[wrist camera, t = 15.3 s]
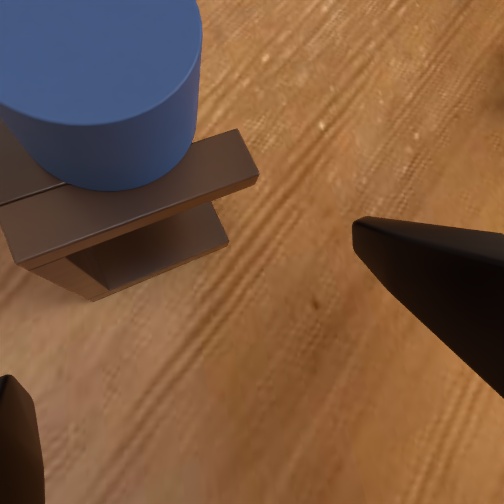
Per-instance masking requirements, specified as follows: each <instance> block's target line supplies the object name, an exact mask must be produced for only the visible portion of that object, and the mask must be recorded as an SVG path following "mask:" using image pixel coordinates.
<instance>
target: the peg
mask: <svg viewBox="0 0 504 504" xmlns="http://www.w3.org/2000/svg"><path fill="white" fill-rule="evenodd" d="M201 49H202V21H201V16H200V12H199V8H198V6H197V3H196V0H0V118H1V120H2V121H3V122H4V123H5V125H6V126H7V127H8V128H9V130H10V131H11V132H12V133H13V135H14V136H15V137H16V138H17V140H18V141H19V142H20V143H21V145H22V146H23V147H24V148H25V149H26V151H27V152H28V153H29V154H30V156H31V157H32V158H33V159H34V160H35V162H36V163H38V164H39V165H40V166H41V167H42V168H43V169H44V170H46V171H47V172H48V173H50V174H51V175H53V176H54V177H56V178H58V179H60V180H62V181H64V182H66V183H69V184H71V185H74V186H77V187H80V188H85V189H89V190H96V191H121V190H129V189H133V188H137V187H140V186H143V185H146V184H149V183H151V182H153V181H155V180H157V179H159V178H160V177H162V176H163V175H165V174H166V173H168V172H169V171H170V170H171V169H172V168H174V167H175V166H176V165H177V164H178V163H179V161H180V160H181V159H182V158H183V157H184V155H185V154H186V152H187V150H188V149H189V147H190V145H191V142H192V140H193V137H194V133H195V130H196V121H197V108H198V93H199V78H200V64H201Z"/></svg>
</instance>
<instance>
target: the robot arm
mask: <svg viewBox="0 0 504 504" xmlns="http://www.w3.org/2000/svg"><path fill="white" fill-rule="evenodd" d="M352 240H353V249H354V251H355V253H356V254H357V256H358V257H359V258H360V259H361V260H362V261H363V262H364V264H365V265H366V266H367V267H368V268H369V269H370V271H371V272H372V273H373V274H374V275H375V276H376V277H377V279H378V280H379V281H380V282H381V283H382V284H383V286H384V287H385V288H386V289H387V290H388V291H389V292H390V293H391V294H392V295H393V296H394V297H395V298H396V299H397V300H398V301H400V302H401V303H402V304H403V305H404V306H405V307H406V308H407V309H408V310H409V311H410V312H411V313H412V314H413V315H415V316H416V317H417V318H418V319H419V320H420V321H421V322H422V323H423V324H424V325H425V326H426V327H427V328H429V329H430V330H431V331H432V332H433V333H434V334H435V335H436V336H437V337H438V338H439V339H440V340H441V341H442V342H444V343H445V344H446V345H447V346H448V347H449V348H450V349H451V350H452V351H453V352H454V353H455V354H456V355H457V356H459V357H460V358H461V359H462V360H463V361H464V362H465V363H466V364H467V365H468V366H469V367H470V368H471V369H473V370H474V371H475V372H476V373H477V374H478V375H479V376H480V377H481V378H482V379H483V380H484V381H485V382H486V383H488V384H489V385H490V386H491V387H492V388H493V389H494V390H495V391H496V392H497V393H498V394H499V395H500V396H502V397H503V398H504V235H503V234H502V233H495V232H487V231H479V230H471V229H463V228H456V227H448V226H440V225H432V224H425V223H417V222H409V221H402V220H394V219H386V218H378V217H371V216H365V217H362V218H360V219H358V220H355V221H354V222H353V224H352ZM0 504H45V482H44V466H43V458H42V451H41V445H40V438H39V432H38V426H37V419H36V413H35V407H34V402H33V400H32V398H31V396H30V395H29V393H28V392H27V391H26V390H25V389H24V388H23V387H22V385H21V384H20V383H19V382H18V381H17V380H16V379H15V378H14V377H13V376H12V375H8V374H7V375H4V376H2V377H0Z"/></svg>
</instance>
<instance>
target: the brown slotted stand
mask: <svg viewBox="0 0 504 504" xmlns="http://www.w3.org/2000/svg"><path fill="white" fill-rule="evenodd" d="M259 175H260V174H259V171H258V169H257V167H256V165H255V163H254V161H253V159H252V157H251V155H250V153H249V151H248V149H247V147H246V145H245V143H244V140H243V138H242V136H241V134H240V132H239V130H238V129H234V130H231V131H228V132H225V133H222V134H218V135H215V136H212V137H209V138H206V139H203V140H200V141H197V142H194V143H191V145H190V147H189V149H188V150H187V152H186V154H185V155H184V157H183V158H182V159H181V160H180V161H179V163H178V164H177V165H176V166H175V167H174V168H172V169H171V170H170V171H169V172H168V173H166V174H165V175H163V176H162V177H160V178H159V179H157V180H155V181H153V182H151V183H149V184H146V185H143V186H140V187H137V188H133V189H129V190H121V191H96V190H89V189H85V188H80V187H77V186H74V185H71V184H69V183H66V182H64V181H62V180H60V179H58V178H56V177H54V176H53V175H51V174H50V173H48V172H47V171H46V170H44V169H43V168H42V167H41V166H40V165H39V164H38V163H36V162H35V160H34V159H33V158H32V157H31V156H30V154H29V153H28V152H27V151H26V149H25V148H24V147H23V146H22V145H21V143H20V142H19V141H18V140H17V138H16V137H15V136H14V135H13V133H12V132H11V131H10V130H9V128H8V127H7V126H6V125H5V123H4V122H3V121H2V120H1V118H0V225H1V228H2V230H3V233H4V236H5V238H6V241H7V244H8V246H9V249H10V252H11V254H12V257H13V260H14V262H15V264H16V265H18V266H20V267H22V268H24V269H26V270H28V271H30V272H32V273H34V274H36V275H38V276H40V277H42V278H44V279H46V280H49V281H51V282H53V283H55V284H57V285H59V286H61V287H63V288H65V289H67V290H69V291H71V292H74V293H76V294H78V295H80V296H82V297H84V298H86V299H88V300H90V301H92V302H94V301H96V300H99V299H101V298H104V297H106V296H108V295H111V294H113V293H116V292H118V291H120V290H123V289H125V288H128V287H130V286H132V285H135V284H137V283H140V282H142V281H144V280H147V279H149V278H152V277H154V276H156V275H159V274H161V273H164V272H166V271H168V270H171V269H173V268H176V267H178V266H180V265H183V264H185V263H188V262H190V261H192V260H195V259H197V258H200V257H202V256H204V255H207V254H209V253H212V252H214V251H216V250H219V249H221V248H224V247H226V246H227V245H228V243H229V239H228V237H227V235H226V233H225V231H224V229H223V226H222V224H221V222H220V220H219V218H218V216H217V214H216V211H215V209H214V207H213V205H212V203H211V201H213V200H215V199H218V198H220V197H223V196H226V195H228V194H231V193H234V192H236V191H239V190H242V189H244V188H247V187H250V186H252V185H254V184H255V183H256V181H257V179H258V177H259Z"/></svg>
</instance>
